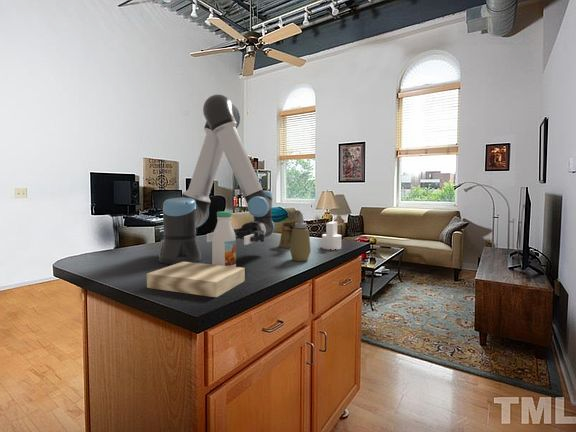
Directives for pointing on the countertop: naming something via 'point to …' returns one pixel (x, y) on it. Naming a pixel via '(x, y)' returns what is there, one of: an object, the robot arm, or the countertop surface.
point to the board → (196, 278)
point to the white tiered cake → (331, 237)
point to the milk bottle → (224, 241)
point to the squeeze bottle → (300, 241)
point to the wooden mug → (288, 230)
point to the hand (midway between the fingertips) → (225, 239)
